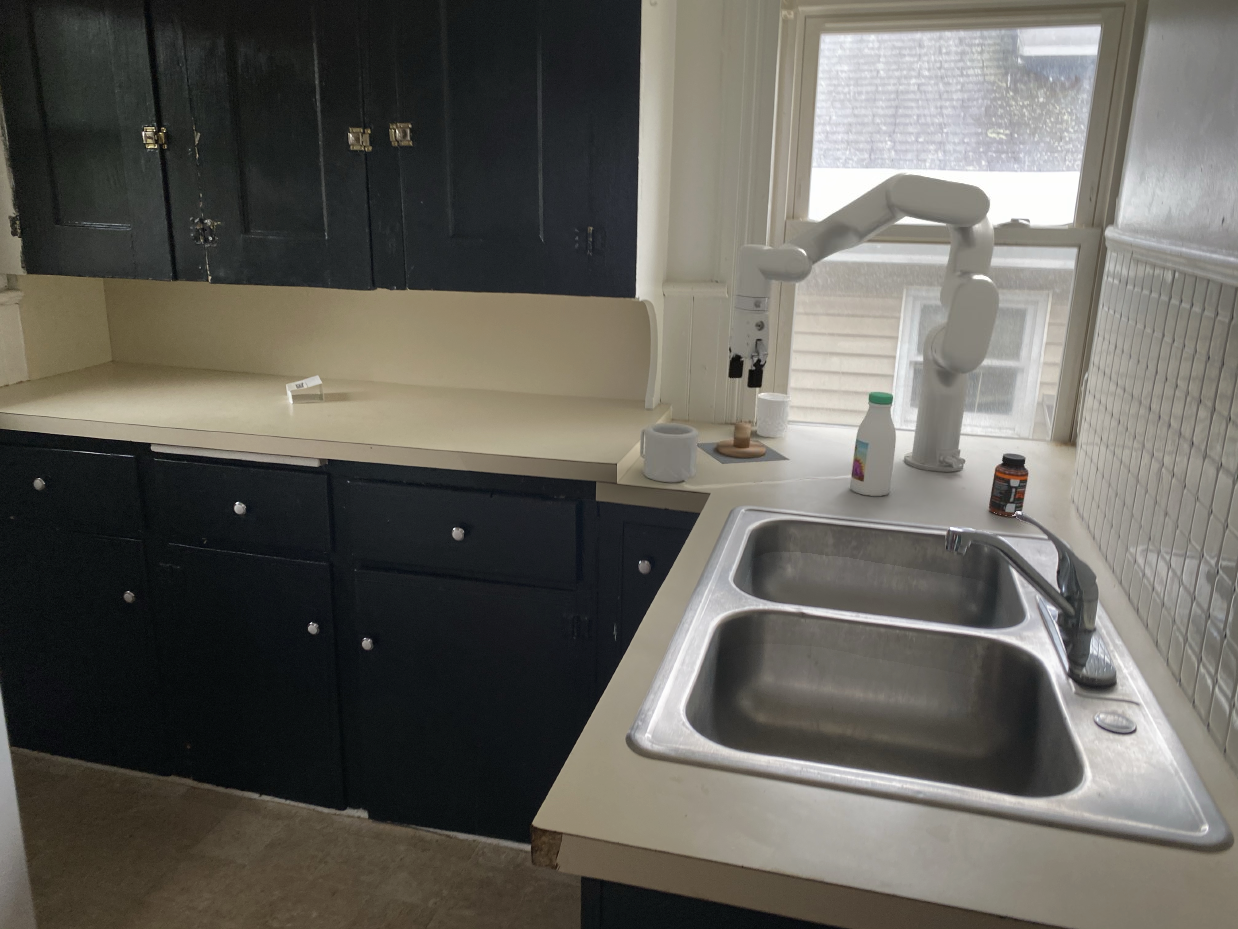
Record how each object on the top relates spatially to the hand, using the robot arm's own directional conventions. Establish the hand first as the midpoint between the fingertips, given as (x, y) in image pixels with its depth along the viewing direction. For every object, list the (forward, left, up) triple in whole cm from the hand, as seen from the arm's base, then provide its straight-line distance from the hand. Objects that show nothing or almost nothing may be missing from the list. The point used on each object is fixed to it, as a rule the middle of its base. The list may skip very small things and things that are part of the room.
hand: (744, 382), depth 210 cm
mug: (-10, +22, -17) cm, 29 cm away
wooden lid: (0, 0, -16) cm, 16 cm away
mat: (0, 0, -16) cm, 16 cm away
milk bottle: (-29, -15, -17) cm, 37 cm away
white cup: (+13, -14, -17) cm, 25 cm away
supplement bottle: (-46, -34, -17) cm, 60 cm away
